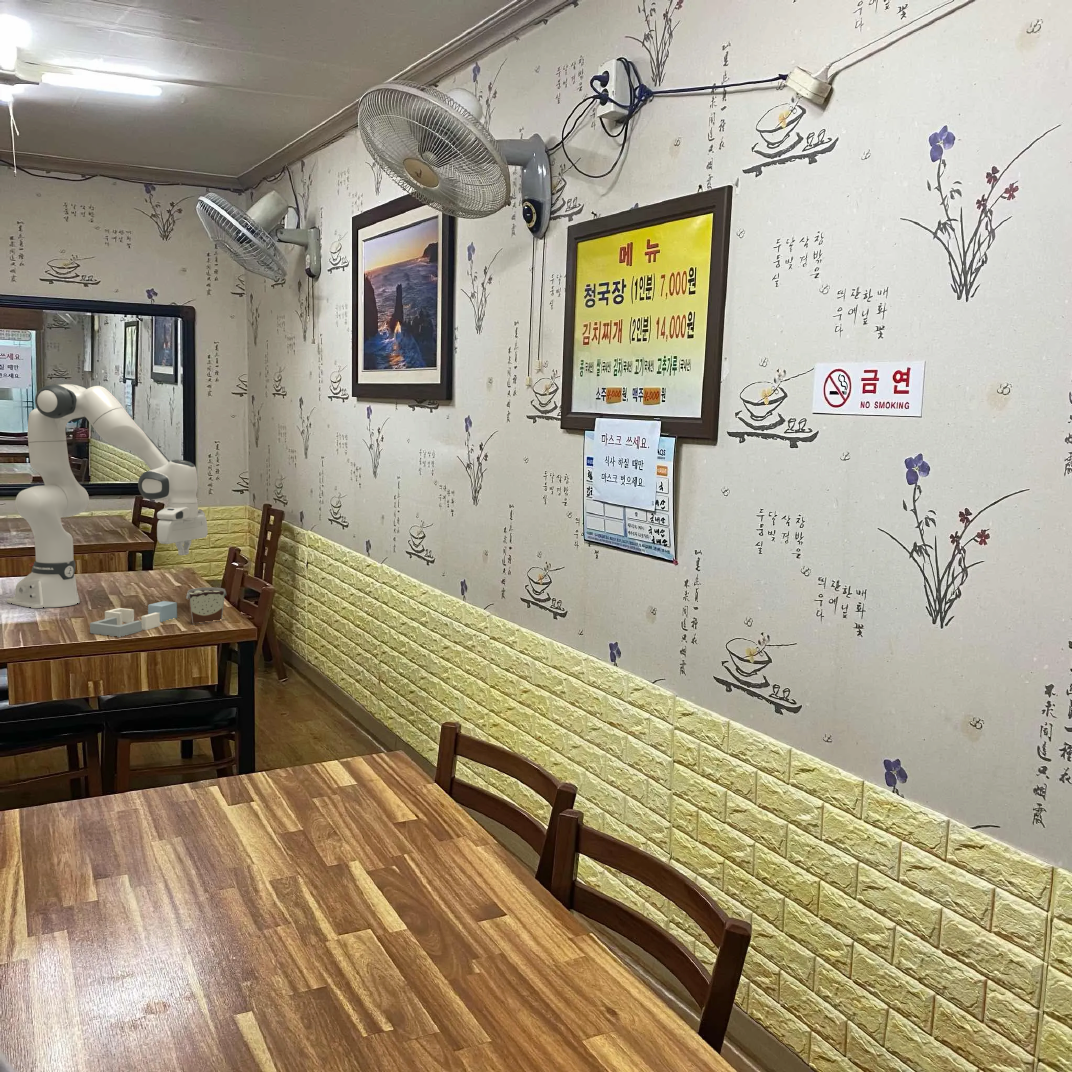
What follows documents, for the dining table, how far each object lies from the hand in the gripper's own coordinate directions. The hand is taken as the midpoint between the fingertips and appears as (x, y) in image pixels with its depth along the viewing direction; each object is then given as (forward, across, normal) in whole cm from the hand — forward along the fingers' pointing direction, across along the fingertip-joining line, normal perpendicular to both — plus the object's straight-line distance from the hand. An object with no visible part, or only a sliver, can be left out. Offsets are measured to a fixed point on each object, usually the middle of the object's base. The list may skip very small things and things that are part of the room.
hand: (183, 554), depth 309 cm
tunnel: (+19, +21, -2) cm, 28 cm away
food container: (+19, +6, +12) cm, 23 cm away
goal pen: (+19, +29, 0) cm, 35 cm away
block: (+19, +10, 0) cm, 22 cm away
